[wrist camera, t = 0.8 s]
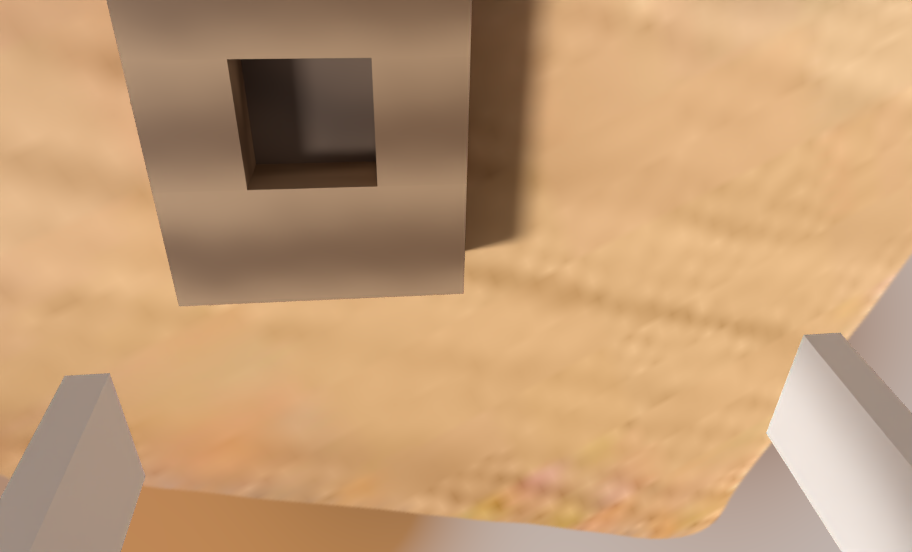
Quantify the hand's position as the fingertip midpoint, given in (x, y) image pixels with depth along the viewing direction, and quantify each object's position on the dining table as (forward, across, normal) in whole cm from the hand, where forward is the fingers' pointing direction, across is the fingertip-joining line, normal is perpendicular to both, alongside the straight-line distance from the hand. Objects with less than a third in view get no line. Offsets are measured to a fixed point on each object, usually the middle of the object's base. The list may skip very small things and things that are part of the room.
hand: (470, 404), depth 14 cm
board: (+23, -5, -2) cm, 24 cm away
